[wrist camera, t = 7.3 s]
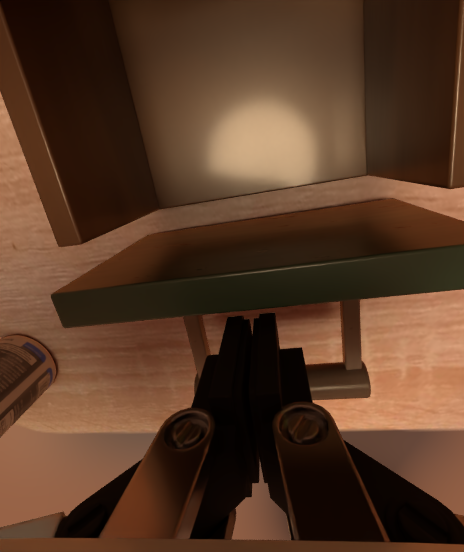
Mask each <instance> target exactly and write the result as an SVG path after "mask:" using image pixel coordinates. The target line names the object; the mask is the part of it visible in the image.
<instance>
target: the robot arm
mask: <svg viewBox="0 0 464 552" xmlns="http://www.w3.org/2000/svg"><path fill="white" fill-rule="evenodd" d="M259 461H260V462H261V468H262V473H263V478H264V482H265V483H268V487H269V493H270V498H271V499H272V500H273V501H274V502H275V503H276V504H277V505H278V506H279V507H280V508H281V509H282V510H283V511H284V512H285V513H286V516H287V522H288V527H289V532H290V538H291V540H231V539H232V535H233V530H234V525H235V521H236V509H235V508H236V507H237V506H238V505H239V504H240V503H241V502H242V501H243V500H244V499H245V498H246V497H252V483H259ZM0 552H464V516H463V515H458V514H453V512H452V511H451V510H449V509H448V508H447V507H446V506H444V505H443V504H442V503H441V502H439V501H438V500H437V499H435V498H433V497H432V496H430V495H429V494H427V493H425V492H424V491H423V490H421V489H419V488H418V487H416V486H415V485H413V484H412V483H410V482H408V481H407V480H405V479H404V478H402V477H401V476H399V475H398V474H396V473H394V472H393V471H391V470H390V469H388V468H387V467H385V466H383V465H382V464H380V463H379V462H377V461H376V460H374V459H373V458H371V457H369V456H368V455H366V454H365V453H363V452H362V451H360V450H358V449H357V448H355V447H354V446H352V445H350V444H349V443H348V442H346V441H344V440H343V438H342V436H341V434H340V432H339V430H338V428H337V426H336V423H335V421H334V419H333V418H332V416H331V415H330V413H329V412H328V411H327V410H325V409H324V408H323V407H321V406H319V405H317V404H314V403H313V402H312V397H311V392H310V387H309V381H308V376H307V371H306V366H305V361H304V356H303V350H302V347H301V348H289V349H280V346H279V338H278V331H277V323H276V316H275V312H273V313H263V314H259V318H254V322H253V336H252V330H251V324H250V319H244V317H243V316H234V317H228V318H227V321H226V325H225V329H224V334H223V338H222V342H221V346H220V350H219V354H217V355H208V356H207V357H206V360H205V363H204V367H203V370H202V373H201V377H200V380H199V383H198V387H197V390H196V393H195V396H194V400H193V403H192V406H191V408H187V409H184V410H180V411H178V412H176V413H175V414H173V415H171V416H170V417H169V418H168V419H167V420H166V421H165V422H164V423H163V425H162V426H161V427H160V429H159V431H158V433H157V435H156V436H155V438H154V440H153V442H152V443H151V445H150V447H149V449H148V450H147V452H146V454H145V456H144V458H143V459H142V460H141V461H139V462H138V463H136V464H135V465H133V466H132V467H131V468H129V469H128V470H126V471H125V472H124V473H122V474H121V475H119V476H118V477H117V478H115V479H114V480H113V481H111V482H110V483H108V484H107V485H106V486H104V487H103V488H101V489H100V490H98V491H97V492H96V493H94V494H93V495H91V496H90V497H89V498H87V499H86V500H85V501H83V502H82V503H81V504H79V505H78V506H77V507H76V508H75V509H74V510H72V511H71V513H70V514H69V515H68V516H66V515H65V514H64V512H60V513H55V514H52V515H48V516H44V517H40V518H36V519H32V520H28V521H24V522H20V523H17V524H12V525H8V526H4V527H1V528H0Z"/></svg>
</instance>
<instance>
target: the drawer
mask: <svg viewBox="0 0 464 552" xmlns="http://www.w3.org/2000/svg"><path fill="white" fill-rule="evenodd" d="M0 92H1V94H2V97H3V100H4V102H5V105H6V108H7V110H8V113H9V116H10V118H11V121H12V124H13V126H14V129H15V132H16V134H17V137H18V140H19V142H20V145H21V148H22V150H23V153H24V156H25V159H26V161H27V164H28V167H29V169H30V172H31V175H32V177H33V180H34V183H35V185H36V188H37V191H38V193H39V196H40V199H41V201H42V204H43V207H44V209H45V212H46V215H47V217H48V220H49V223H50V225H51V228H52V231H53V233H54V236H55V239H56V241H57V244H58V246H59V247H67V246H73V245H80V244H83V243H86V242H88V241H90V240H92V239H94V238H97V237H99V236H101V235H103V234H106V233H108V232H110V231H112V230H114V229H117V228H119V227H121V226H123V225H126V224H128V223H130V222H132V221H134V220H137V219H139V218H141V217H143V216H146V215H148V214H150V213H152V212H154V211H157V210H159V209H165V208H171V207H177V206H183V205H189V204H195V203H201V202H207V201H214V200H220V199H226V198H232V197H238V196H244V195H250V194H256V193H262V192H269V191H275V190H281V189H287V188H293V187H299V186H305V185H311V184H318V183H324V182H330V181H336V180H342V179H348V178H354V177H360V176H367V175H370V176H376V177H382V178H387V179H393V180H399V181H405V182H411V183H417V184H423V185H429V186H435V187H440V188H446V189H454V188H461V187H464V0H0ZM461 289H464V221H461V220H458V219H455V218H452V217H449V216H446V215H443V214H440V213H437V212H434V211H430V210H427V209H424V208H421V207H418V206H415V205H412V204H409V203H406V202H403V201H400V200H397V199H393V198H392V199H385V200H378V201H372V202H365V203H358V204H352V205H345V206H338V207H331V208H325V209H318V210H311V211H305V212H298V213H291V214H284V215H278V216H271V217H264V218H258V219H251V220H244V221H238V222H231V223H224V224H217V225H211V226H204V227H197V228H191V229H184V230H177V231H170V232H164V233H157V234H150V235H147V236H145V237H144V238H142V239H140V240H139V241H137V242H135V243H134V244H132V245H131V246H129V247H127V248H126V249H124V250H122V251H121V252H119V253H118V254H116V255H114V256H113V257H111V258H109V259H108V260H106V261H105V262H103V263H101V264H100V265H98V266H96V267H95V268H93V269H92V270H90V271H88V272H87V273H85V274H83V275H82V276H80V277H79V278H77V279H75V280H74V281H72V282H70V283H69V284H67V285H66V286H64V287H62V288H61V289H59V290H57V291H56V292H54V293H53V294H51V299H52V301H53V304H54V306H55V308H56V311H57V313H58V316H59V318H60V321H61V323H62V326H63V327H64V328H72V327H82V326H92V325H102V324H112V323H123V322H133V321H143V320H153V319H164V318H174V317H184V321H185V325H186V329H187V333H188V337H189V341H190V345H191V349H192V353H193V357H194V361H195V365H196V369H197V374H196V377H195V384H194V392H195V393H196V390H197V387H198V383H199V380H200V377H201V373H202V370H203V367H204V363H205V360H206V357H207V356H208V355H211V354H210V349H209V345H208V340H207V336H206V332H205V327H204V323H203V318H202V315H205V314H215V313H225V312H235V311H246V310H256V309H266V308H276V307H287V306H297V305H307V304H317V303H328V302H338V301H340V315H341V333H342V351H343V362H338V363H323V364H307V365H305V366H306V371H307V376H308V381H309V387H310V392H311V397H312V400H328V399H350V398H369V397H370V394H371V387H370V380H369V375H368V371H367V368H366V366H365V364H364V362H363V361H362V360H361V328H360V299H369V298H379V297H389V296H399V295H409V294H420V293H430V292H440V291H450V290H461Z"/></svg>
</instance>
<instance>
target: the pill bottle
mask: <svg viewBox="0 0 464 552" xmlns="http://www.w3.org/2000/svg"><path fill="white" fill-rule="evenodd" d="M55 376H56V367H55V363H54V361H53V359H52V357H51V355H50V354H49V352H48V351H47V350H46V349H45V348H44V347H43V346H42V345H41V344H40V343H38V342H37V341H35V340H33V339H31V338H28V337H25V336H20V335H11V336H7V337H4V338H2V339H0V437H1V436H2V435H3V434H4V433H5V432H6V431H7V430H8V429H9V428H10V426H12V425H13V424H14V423H15V422H16V421H17V420H18V419H19V418H20V416H21V415H22V414H23V413H24V412H25V411H26V410H27V409H28V408H29V407H30V406H31V405H32V404H33V403H34V402H35V401H36V400H37V399H38V398H39V397H40V396H41V395H42V394H43V393H44V392H45V391H46V390H47V388H48V387H49V386H50V385H51V384H52V383H53V381H54V379H55Z"/></svg>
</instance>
